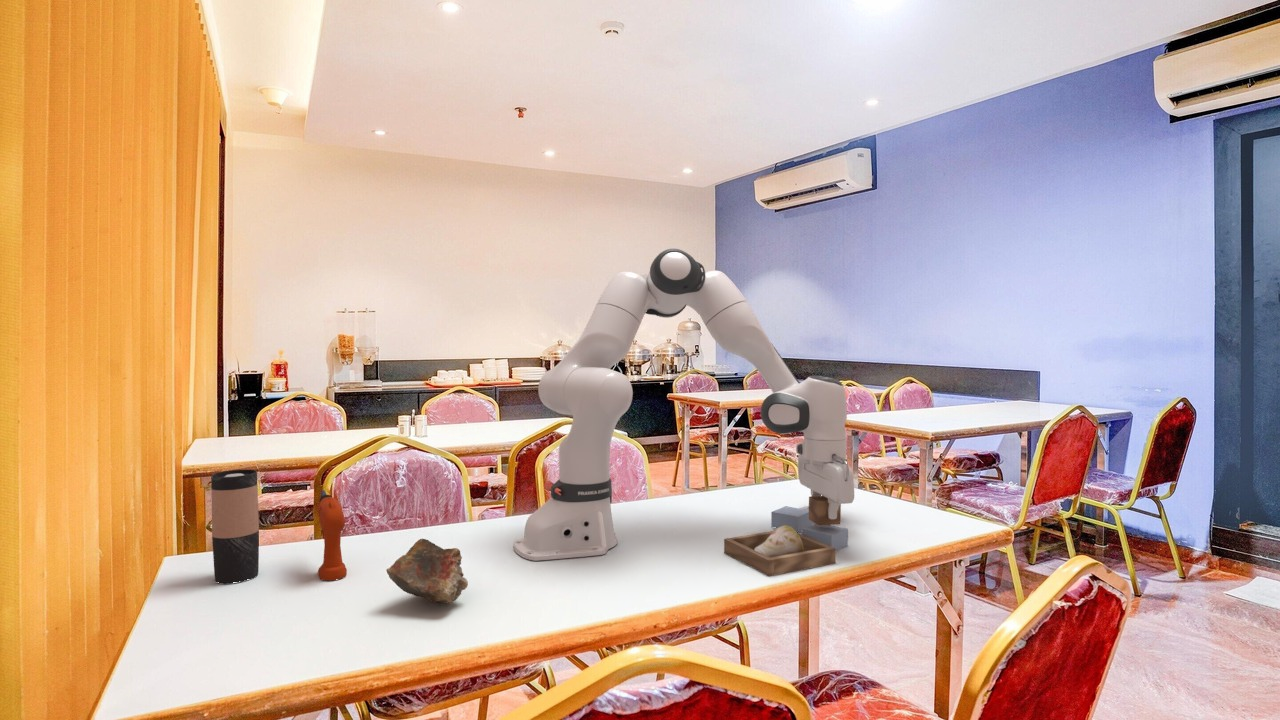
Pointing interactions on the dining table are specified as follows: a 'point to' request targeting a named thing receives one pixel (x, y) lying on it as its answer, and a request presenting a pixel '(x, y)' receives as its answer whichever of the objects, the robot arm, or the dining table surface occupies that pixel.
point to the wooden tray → (811, 556)
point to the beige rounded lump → (781, 543)
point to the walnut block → (821, 511)
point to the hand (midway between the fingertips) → (824, 514)
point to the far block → (791, 518)
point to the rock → (429, 572)
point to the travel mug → (235, 525)
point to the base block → (828, 535)
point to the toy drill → (331, 537)
